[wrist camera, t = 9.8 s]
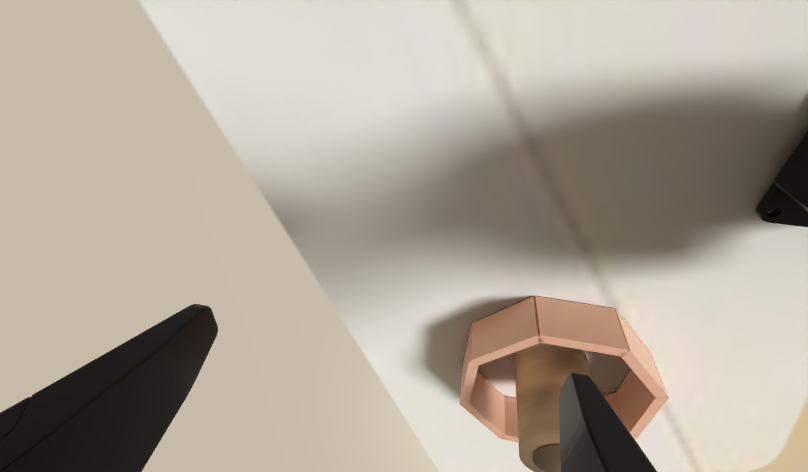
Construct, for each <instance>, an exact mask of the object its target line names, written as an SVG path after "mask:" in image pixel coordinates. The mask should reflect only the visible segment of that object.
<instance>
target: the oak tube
mask: <svg viewBox="0 0 808 472" xmlns="http://www.w3.org/2000/svg"><path fill="white" fill-rule="evenodd" d="M571 372H576V373H582V374H586V375H588V376H590V377H591V375H590V371H589V366H588V362H587V358H586V354H585V352H584V351H583V350H581V349H575V348H569V347H563V346H557V345H551V344H546V343H539V344H536V345H533V346H530V347H528V348H525V349H522V350H519V351H517V352H516V353H515V378H516V398H517V418H518V438H519V456H520V459H521V461H522V462H523V464H524V465H525V466H526V467H528V468H529V469H531V470H532V471H534V472H561V463H560V434H559V393H560V390H561V388H562V386H563V384H564V382H565V380H566V378H567V376H568V374H569V373H571Z"/></svg>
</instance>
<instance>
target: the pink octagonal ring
mask: <svg viewBox="0 0 808 472" xmlns="http://www.w3.org/2000/svg"><path fill="white" fill-rule="evenodd" d="M539 343H546V344H551V345H557V346H563V347H569V348H575V349H581V350H586V351H592V352H598V353H604V354H610V355H615V356H621V357H622V359H623V360H624V361H625V362H626V363H627V365H628V366H629V367H630V368H631V370H630V371H629V373H628V374H627V376H626V377H625V379H624V381H623V382H622V384H621V385H620V387H619V388H618V390H617V392H615V393H611V394H607V395H604V397H605V398H606V399H607V401H608V402H609V404H610V405H611V407H612V408H613V409H614V411H615V412H616V414H617V415H618V417H619V418H620V419H621V421H622V422H623V424H624V425H625V427H626V428H627V429H628V431H629V432H630V434H631V435H632V437H633V438H634V439H635V438H637V437H638V436H639V435H640V434H641V432H642V431H643V430H644V429H645V427H646V426H647V425H648V424H649V422H650V421H651V420H652V418H653V417H654V416H655V415H656V413H657V412H658V411H659V410H660V408H661V407H662V406H663V405H664V403H665V402H666V401H667V399H668V394H667V392H666V389H665V387H664V384H663V382H662V379H661V377H660V374H659V372H658V369H657V367H656V364H655V362H654V359H653V356H652V354H651V352H650V351H649V350H648V349H647V347H646V346H645V345H644V344H643V342H642V341H641V340H640V339H639V337H638V336H637V335H636V334H635V332H634V331H633V330H632V329H631V327H630V326H629V325H628V324H627V322H626V321H625V320H624V319H623V317H622V316H621V315H620V314H619V312H618V311H617V310H615V309H614V308H608V307H602V306H596V305H589V304H583V303H577V302H570V301H564V300H558V299H551V298H545V297H538V296H535V298H534V297H530V298H528V299H526V300H524V301H521V302H519V303H517V304H515V305H512V306H510V307H508V308H505V309H503V310H501V311H499V312H496V313H494V314H492V315H489V316H487V317H485V318H483V319H480V320H478V321H476V322H474V323H472V324H471V328H470V333H469V338H468V342H467V347H466V352H465V357H464V361H463V367H462V380H461V393H460V405H461V406H463V407H464V408H465V409H466V410H467V411H468V412H470V413H471V414H472V415H473V416H474V417H475V418H477V419H478V420H479V421H480V422H481V423H482V424H484V425H485V426H486V427H487V428H488V429H489V430H491V431H492V432H493V433H494V434H495V435H496V436H498V437H499V438H501V439H505V440H510V441H514V442H519V438H518V418H517V399H516V398H511V397H506V396H504V395H503V394H501V393H500V392H499V391H498V390H497V389H496V388H495V387H494V386H493V385H492V384H491V383H489V382H488V381H487V380H486V379H485V378H484V377H483V376H482V375H481V374H480V373H479V372H478V371H477V370H478V366H479V365H481V364H484V363H487V362H490V361H492V360H495V359H498V358H500V357H503V356H506V355H509V354H511V353H514V352H517V351H519V350H522V349H525V348H528V347H530V346H533V345H536V344H539Z"/></svg>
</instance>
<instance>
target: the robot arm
mask: <svg viewBox="0 0 808 472" xmlns="http://www.w3.org/2000/svg"><path fill="white" fill-rule="evenodd" d="M773 208H776V209H775V210H774V211H773V212H770V213H768V212H769V211H770V210H771V209H773ZM756 214H757V215H758V216H759V217H760V218H761V219H762V220H763V221H766V222H771V223H779V224H787V225H795V226H803V227H808V131H807V133H806V134H805V136H804V137H803V139H802V140H801V142H800V143H799V145H798V146H797V148H796V149H795V151H794V152H793V154H792V155H791V157H790V158H789V160H788V161H787V162H786V164H785V165H784V167H783V168H782V170H781V171H780V173H779V174H778V176H777V177H776V179H775V181H774V183H773V184H772V186H771V187H770V189H769V190H768V191H767V193H766V194H765V196H764V197H763V199H762V200H761V202H760V203H759V205H758V206H757V208H756ZM217 332H218V327H217V323H216V321H215V318H214V315H213V313H212V310H211V308H210V307H208V306H204V305H199V304H193V305H191V306H189V307H187V308H185V309H183V310H181V311H180V312H178V313H176V314H174V315H173V316H171V317H169V318H168V319H166V320H164V321H162V322H161V323H159V324H157V325H155V326H153V327H151V328H150V329H148V330H146V331H144V332H143V333H141V334H139V335H138V336H136V337H134V338H132V339H130V340H129V341H127V342H125V343H123V344H121V345H120V346H118V347H117V348H115V349H113V350H111V351H109V352H108V353H106V354H104V355H102V356H101V357H99V358H97V359H95V360H93V361H92V362H90V363H88V364H86V365H84V366H83V367H81V368H79V369H77V370H76V371H74V372H72V373H70V374H68V375H67V376H65V377H63V378H61V379H60V380H58V381H56V382H54V383H53V384H51V385H49V386H47V387H46V388H44V389H42V390H40V391H38V392H37V393H35V394H33V395H32V397H28V398H26V399H24V400H22V401H21V402H19V403H17V404H15V405H14V406H12V407H10V408H8V409H6V410H5V411H3V412H1V413H0V472H141V471H142V470H143V468H144V466H145V464H146V463H147V462H148V460H149V458H150V456H151V455H152V453H153V452H154V450H155V448H156V447H157V445H158V443H159V442H160V440H161V438H162V437H163V435H164V433H165V432H166V430H167V428H168V427H169V425H170V423H171V422H172V420H173V418H174V417H175V415H176V414H177V412H178V410H179V408H180V407H181V405H182V404H183V402H184V400H185V399H186V397H187V395H188V393H189V392H190V390H191V388H192V386H193V384H194V382H195V380H196V378H197V376H198V374H199V372H200V369H201V367H202V365H203V363H204V361H205V359H206V357H207V355H208V353H209V351H210V348H211V347H212V344H213V342H214V340H215V338H216V336H217ZM559 434H560V463H561V472H657V471H656V469H655V468H654V467H653V465H652V464H651V462H650V461H649V459H648V458H647V457H646V455H645V454H644V452H643V451H642V449H641V448H640V447H639V445H638V444H637V442H636V441H635V439H634V438H633V437H632V435H631V434H630V432H629V431H628V429H627V428H626V427H625V425H624V424H623V422H622V421H621V419H620V418H619V417H618V415H617V414H616V412H615V411H614V409H613V408H612V407H611V405H610V404H609V402H608V401H607V399H606V398H605V397H604V395H603V394H602V392H601V391H600V389H599V388H598V387H597V385H596V384H595V382H594V381H593V379H592V378H591V377H590V376H588V375H586V374H582V373H576V372H571V373H569V374H568V376H567V378H566V380H565V382H564V384H563V386H562V388H561V390H560V393H559Z"/></svg>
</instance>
